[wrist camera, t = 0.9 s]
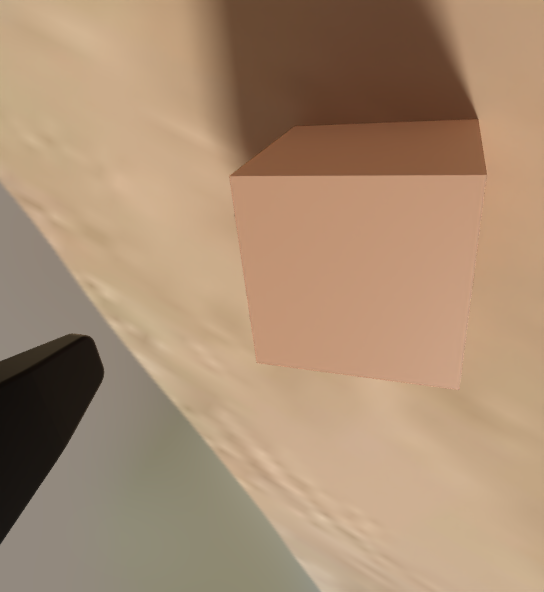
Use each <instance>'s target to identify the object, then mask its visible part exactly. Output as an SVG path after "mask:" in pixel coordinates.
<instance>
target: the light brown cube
mask: <svg viewBox="0 0 544 592" xmlns="http://www.w3.org/2000/svg"><path fill="white" fill-rule="evenodd" d="M229 178H230V185H231V192H232V199H233V205H234V212H235V219H236V226H237V232H238V239H239V246H240V253H241V260H242V266H243V273H244V280H245V287H246V293H247V300H248V307H249V314H250V321H251V327H252V334H253V341H254V348H255V354H256V361H257V363H261V364H269V365H276V366H284V367H291V368H299V369H306V370H313V371H321V372H328V373H336V374H343V375H351V376H358V377H366V378H373V379H381V380H388V381H396V382H403V383H411V384H418V385H426V386H433V387H440V388H448V389H455V390H459V389H460V381H461V374H462V366H463V358H464V350H465V342H466V334H467V327H468V319H469V311H470V303H471V295H472V288H473V280H474V272H475V264H476V256H477V248H478V241H479V233H480V225H481V217H482V209H483V202H484V194H485V186H486V178H487V173H486V166H485V160H484V153H483V147H482V140H481V134H480V127H479V121H478V119H465V120H439V121H414V122H389V123H363V124H338V125H312V126H294V127H293V128H292V129H290V130H289V131H288V132H286V133H285V134H284V135H282V136H281V137H280V138H278V139H277V140H276V141H275V142H273V143H272V144H271V145H269V146H268V147H267V148H265V149H264V150H263V151H261V152H260V153H259V154H258V155H256V156H255V157H254V158H252V159H251V160H250V161H248V162H247V163H246V164H244V165H243V166H242V167H241V168H239V169H238V170H237V171H235V172H234V173H233V174H231V175H230V176H229Z"/></svg>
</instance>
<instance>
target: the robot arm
mask: <svg viewBox="0 0 544 592" xmlns="http://www.w3.org/2000/svg"><path fill="white" fill-rule="evenodd" d="M103 377H104V367H103V364H102V362H101V359H100V356H99V353H98V350H97V348H96V345H95V342H94V340H93V339H92V338H91V337H90V336H87V335H81V334H68V335H65V336H63V337H60V338H58V339H55V340H53V341H50V342H48V343H45V344H43V345H40V346H38V347H35V348H33V349H30V350H28V351H25V352H22V353H20V354H17V355H15V356H13V357H10V358H8V359H5V360H2V361H0V544H1V543H2V541H3V540H4V538H5V537H6V535H7V534H8V532H9V531H10V529H11V528H12V526H13V525H14V523H15V522H16V520H17V519H18V518H19V516H20V514H21V513H22V511H23V510H24V509H25V507H26V506H27V504H28V503H29V501H30V500H31V498H32V497H33V495H34V494H35V492H36V491H37V489H38V488H39V486H40V485H41V483H42V482H43V480H44V479H45V477H46V476H47V475H48V473H49V472H50V470H51V469H52V467H53V466H54V464H55V463H56V461H57V460H58V458H59V457H60V455H61V454H62V452H63V450H64V449H65V447H66V446H67V444H68V442H69V440H70V439H71V437H72V435H73V433H74V432H75V430H76V428H77V426H78V424H79V422H80V421H81V419H82V417H83V415H84V413H85V412H86V410H87V408H88V406H89V404H90V403H91V401H92V399H93V397H94V395H95V393H96V392H97V390H98V388H99V386H100V384H101V383H102V380H103Z"/></svg>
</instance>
